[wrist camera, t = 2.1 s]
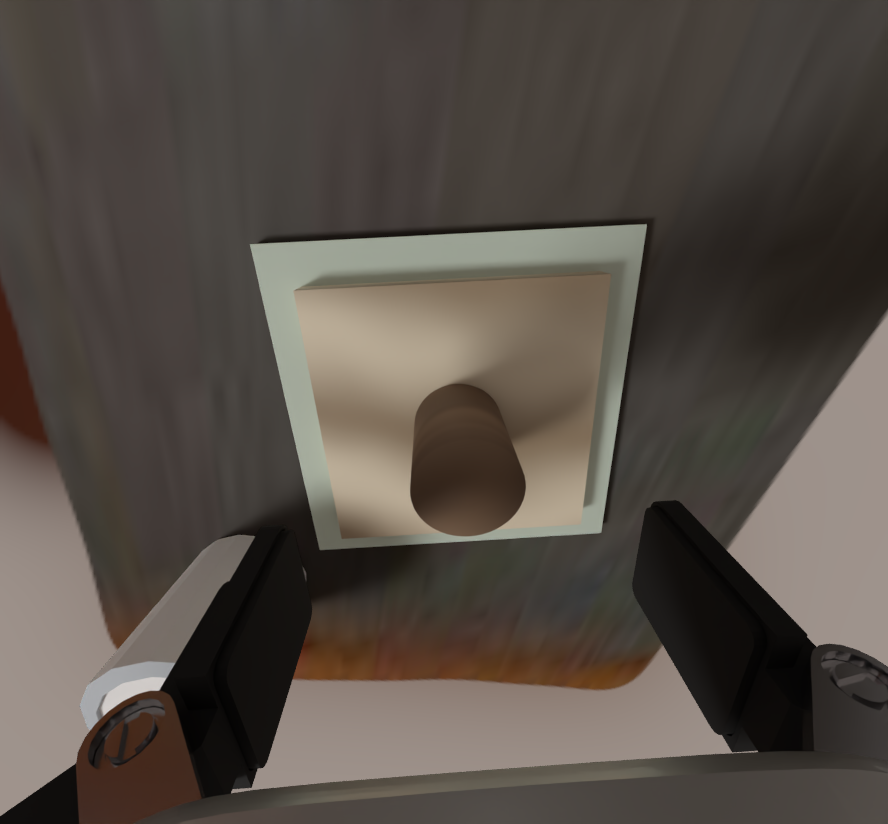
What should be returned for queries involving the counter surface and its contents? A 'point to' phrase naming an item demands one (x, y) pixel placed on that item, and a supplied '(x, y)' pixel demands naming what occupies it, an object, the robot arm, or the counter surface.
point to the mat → (448, 259)
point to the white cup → (164, 630)
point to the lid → (456, 399)
